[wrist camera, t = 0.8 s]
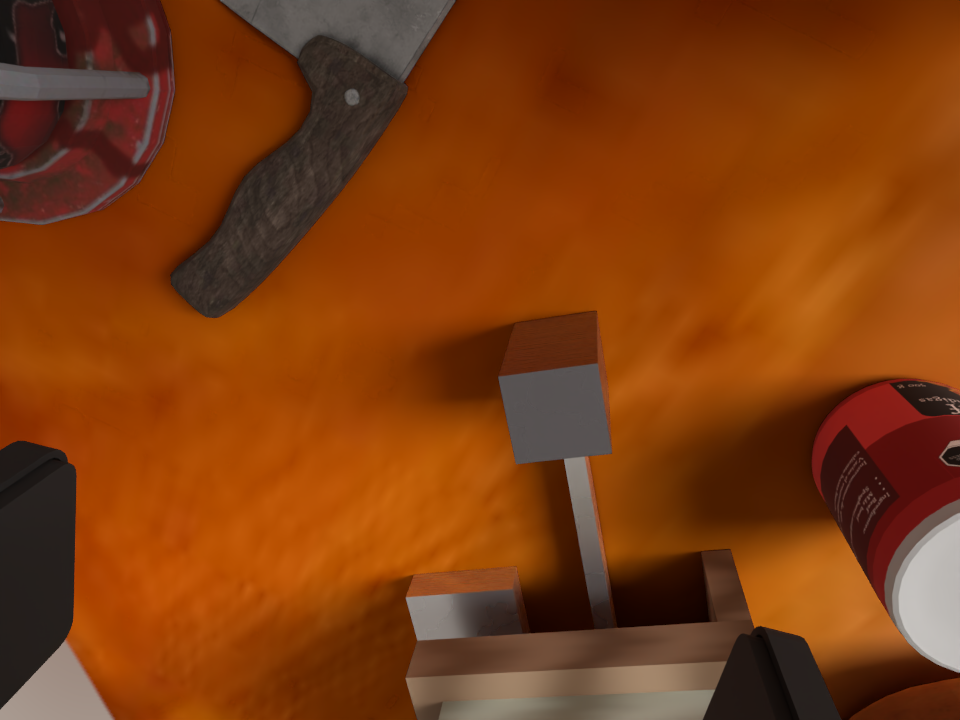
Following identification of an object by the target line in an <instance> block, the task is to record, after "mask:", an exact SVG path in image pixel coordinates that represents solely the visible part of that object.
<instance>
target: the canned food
mask: <svg viewBox="0 0 960 720" xmlns="http://www.w3.org/2000/svg"><path fill="white" fill-rule="evenodd" d="M812 473H813V477H814V480H815V483H816V486H817V488H818V490H819V492H820V494H821V496H822V497H823V499H824V501H825V503H826V505H827V506H828V508H829V510H830V512H831V514H832V515H833V517H834V519H835V521H836V523H837V524H838V526H839V528H840V530H841V532H842V533H843V535H844V537H845V539H846V541H847V542H848V544H849V546H850V548H851V550H852V551H853V553H854V555H855V557H856V559H857V560H858V562H859V564H860V566H861V567H862V569H863V571H864V573H865V575H866V576H867V578H868V580H869V582H870V584H871V585H872V587H873V589H874V591H875V593H876V594H877V596H878V598H879V600H880V601H881V603H882V604H883V606H884V607H885V609H886V611H887V613H888V614H889V616H890V618H891V619H892V621H893V622H894V624H895V626H896V627H897V629H898V630H899V632H900V633H901V634H902V635H903V636H904V637H905V639H906V640H907V642H908V643H909V644H910V645H911V646H912V647H913V648H914V649H916V650H917V651H918V652H919V653H920V654H921V655H922V656H924V657H926V658H927V659H929V660H931V661H932V662H934V663H936V664H937V665H940V666H942V667H945V668H948V669H950V670H953V671H955V672H959V673H960V390H958V389H955V388H953V387H950V386H947V385H945V384H942V383H937V382H931V381H926V380H920V379H895V380H889V381H883V382H880V383H877V384H874V385H870V386H867V387H865V388H863V389H861V390H859V391H857V392H855V393H853V394H851V395H850V396H849V397H847V398H846V399H844V400H843V401H842V402H840V403H839V404H838V405H837V406H836V407H835V408H834V409H833V410H832V411H831V412H830V413H829V414H828V415H827V417H826V418H825V420H824V421H823V423H822V424H821V426H820V427H819V429H818V432H817V434H816V437H815V440H814V444H813V451H812Z"/></svg>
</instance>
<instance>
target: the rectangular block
mask: <svg viewBox="0 0 960 720" xmlns="http://www.w3.org/2000/svg"><path fill="white" fill-rule="evenodd" d="M406 601H407V604H408V608H409V612H410V615H411V619H412V623H413V626H414V630H415V634H416V637H417V641H419V640H435V639H451V638H467V637H483V636H499V635H515V634H531V633H530V628H529V624H528V619H527V614H526V610H525V605H524V600H523V595H522V591H521V586H520V581H519V577H518V572H517V567H516V566H513V567H501V568H489V569H476V570H464V571H452V572H440V573H427V574H415V575H414V576H413V579H412V581H411V584H410V587H409V589H408V592H407V595H406Z"/></svg>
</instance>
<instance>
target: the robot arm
mask: <svg viewBox="0 0 960 720" xmlns="http://www.w3.org/2000/svg"><path fill="white" fill-rule="evenodd" d="M75 515H76V469H75V467H74V466H73V465H72V464H70V463H68V460H67V457H66V455H65V453H64V452H62V451H61V450H58V449H54V448H50V447H46V446H42V445H38V444H34V443H30V442H26V441H17V442H14V443H12V444H10V445H8V446H6V447H5V448H3V449H1V450H0V709H1V708H2V707H3V706H4V705H5V704H6V703H7V702H8V701H9V700H10V699H11V698H12V696H13V695H14V694H15V693H16V692H17V691H18V690H19V689H20V688H21V687H22V686H23V685H24V684H25V682H27V681H28V680H29V679H30V678H31V676H32V675H33V674H34V673H35V672H36V671H37V670H38V669H39V668H40V667H41V666H42V665H43V664H44V663H45V661H47V659H48V658H49V657H50V656H51V655H52V654H53V653H54V652H55V651H56V650H57V649H58V648H59V647H60V646H61V644H62V643H63V642H64V640H65V639H66V637H67V635H68V633H69V631H70V629H71V626H72V622H73V608H74V562H75ZM703 720H841V718H840V716H839V713H838V711H837V709H836V707H835V704H834V702H833V700H832V698H831V695H830V693H829V691H828V689H827V686H826V684H825V682H824V680H823V677H822V675H821V673H820V671H819V669H818V666H817V664H816V662H815V660H814V657H813V655H812V653H811V651H810V648H809V646H808V644H807V642H806V641H805V639H804V638H802V637H800V636H798V635H794V634H790V633H786V632H782V631H778V630H774V629H770V628H766V627H762V626H759V627H756V628H755V629H754V630H753V631H752V633H751V635H748V634H744V633H743V634H740V635H739V636H738V637H737V639H736V641H735V643H734V646H733V648H732V650H731V653H730V655H729V658H728V660H727V662H726V665H725V667H724V670H723V672H722V674H721V677H720V679H719V682H718V684H717V686H716V689H715V691H714V694H713V696H712V698H711V701H710V703H709V706H708V708H707V710H706V713H705V715H704V718H703Z"/></svg>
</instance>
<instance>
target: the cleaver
mask: <svg viewBox="0 0 960 720" xmlns="http://www.w3.org/2000/svg"><path fill="white" fill-rule="evenodd" d="M220 1H221V2H222V3H224V4H225V5H226V6H227V7H229V8H230V9H231V10H233V11H234V12H235V13H237V14H238V15H239V16H240V17H242V18H243V19H244V20H246V21H247V22H248V23H249V24H251V25H252V26H253V27H255V28H256V29H258V30H259V31H260V32H262V33H263V34H264V35H266V36H267V37H269V38H270V39H271V40H273V41H274V42H275V43H277V44H278V45H280V46H281V47H282V48H284V49H285V50H286V51H288V52H289V53H291V54H292V55H293V56H295V57H296V58H297V59H298V61H297V63H298V65H299V67H300V69H301V71H302V73H303V75H304V77H305V79H306V81H307V83H308V85H309V87H310V89H311V90H312V99H311V108H310V112H309V114H308V116H307V117H306V119H305V121H304V123H303V124H302V126H301V128H300V129H299V130H298V131H297V132H296V133H295V134H294V135H293V136H292V137H291V138H290V139H289V140H288V141H287V142H286V143H285V144H284V145H282V146H281V147H280V148H278V149H277V150H275V151H274V152H273V153H271V154H270V155H269V156H267V157H266V158H265V159H263V160H262V161H261V162H259V163H258V164H257V165H256V166H255V167H254V168H253V169H252V170H251V171H250V172H249V173H248V174H247V175H246V176H245V177H244V178H243V180H242V182H241V183H240V185H239V187H238V188H237V190H236V192H235V194H234V196H233V199H232V201H231V203H230V206H229V208H228V210H227V212H226V215H225V217H224V219H223V221H222V224H221V225H220V227H219V228H218V230H217V231H216V232H215V234H214V235H213V237H212V238H211V239H210V241H208V242H207V243H206V244H205V245H204V246H203V247H201V248H200V249H199V250H198V251H197V252H196V253H194V254H193V255H192V256H191V257H189V258H188V259H187V260H185V261H184V262H183V263H181V264H180V265H179V266H177V268H176V269H175V270H174V271H173V272H172V273H171V275H170V276H171V285H172V286H173V287H174V289H175V290H176V291H177V292H178V293H179V294H180V295H181V296H182V297H183V298H184V299H185V300H186V301H187V302H188V303H189V304H190V305H191V306H192V307H194V308H195V309H196V310H197V311H198V312H199V313H201V314H202V315H204V316H205V317H209V318H217V317H220V316H222V315H224V314H225V313H227V312H229V311H230V310H232V309H233V308H235V307H236V306H237V305H238V304H239V303H240V302H242V301H243V300H244V299H245V298H246V297H247V296H248V295H249V294H250V293H251V292H252V291H254V290H255V289H256V288H257V287H258V286H259V285H260V284H261V283H262V282H263V281H264V280H265V279H266V278H267V277H268V276H269V274H270V273H271V272H272V271H273V270H274V269H275V268H276V267H277V266H278V265H279V264H280V263H281V262H282V260H283V259H284V258H285V257H286V256H287V255H288V254H289V253H290V251H291V250H292V249H293V248H294V247H295V246H296V245H297V243H298V242H299V241H300V240H301V239H302V238H303V236H304V235H305V234H306V233H307V232H308V231H309V230H310V228H311V227H312V226H313V225H314V224H315V222H316V221H317V220H318V219H319V218H320V216H321V215H322V214H323V213H324V211H325V210H326V209H327V208H328V207H329V205H330V204H331V203H332V202H333V200H334V199H335V198H336V197H337V195H338V194H339V193H340V192H341V191H342V189H343V188H344V187H345V185H346V184H347V183H348V181H349V180H350V179H351V178H352V176H353V175H354V174H355V172H356V171H357V170H358V168H359V167H360V165H361V164H362V163H363V161H364V160H365V158H366V157H367V156H368V154H369V153H370V151H371V150H372V148H373V147H374V146H375V144H376V143H377V141H378V140H379V138H380V137H381V135H382V134H383V132H384V131H385V129H386V128H387V126H388V125H389V123H390V122H391V120H392V118H393V117H394V115H395V114H396V112H397V111H398V109H399V107H400V106H401V104H402V102H403V100H404V98H405V97H406V95H407V91H408V86H407V85H406V84H405V83H404V81H405V79H406V78H407V76H408V75H409V73H410V72H411V70H412V69H413V67H414V65H415V64H416V62H417V61H418V59H419V58H420V56H421V54H422V53H423V51H424V50H425V48H426V47H427V45H428V43H429V42H430V40H431V39H432V37H433V36H434V34H435V32H436V31H437V29H438V28H439V26H440V25H441V23H442V21H443V20H444V18H445V17H446V15H447V14H448V12H449V11H450V9H451V7H452V6H453V4H454V3H455V1H456V0H220Z"/></svg>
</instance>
